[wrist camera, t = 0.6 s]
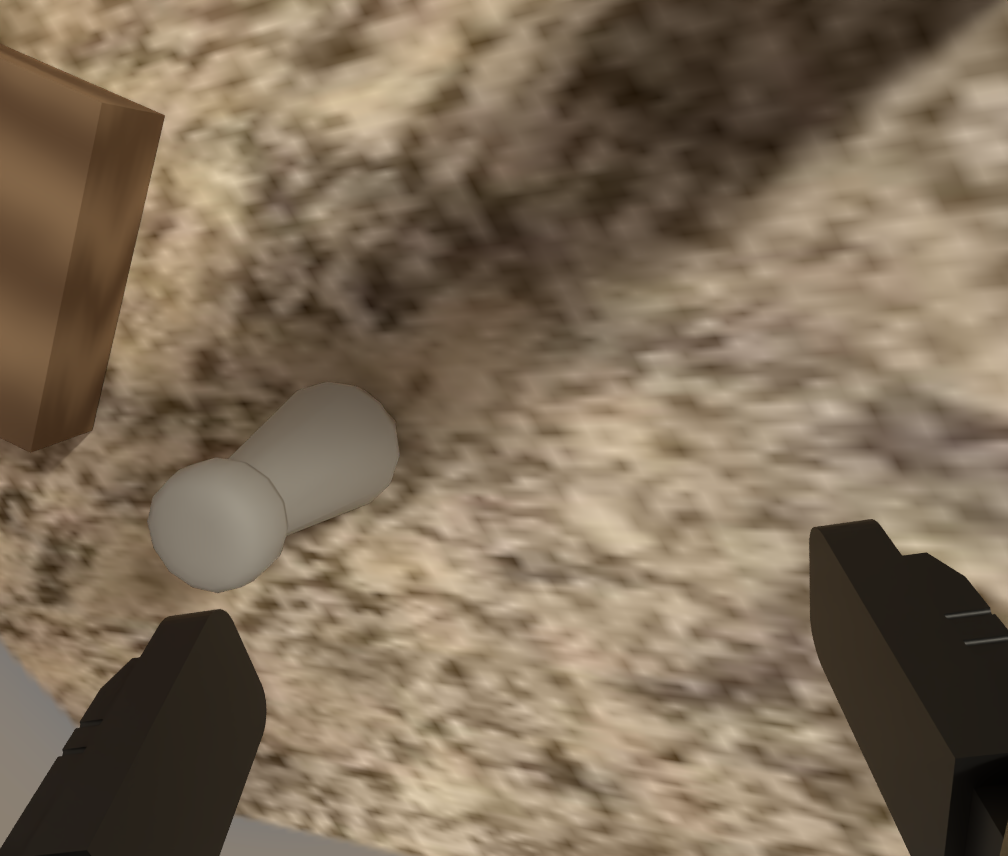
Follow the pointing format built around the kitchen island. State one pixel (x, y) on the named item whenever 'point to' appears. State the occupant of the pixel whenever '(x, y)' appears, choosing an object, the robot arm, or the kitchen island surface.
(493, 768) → the kitchen island surface
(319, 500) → the salt shaker
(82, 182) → the walnut riser
